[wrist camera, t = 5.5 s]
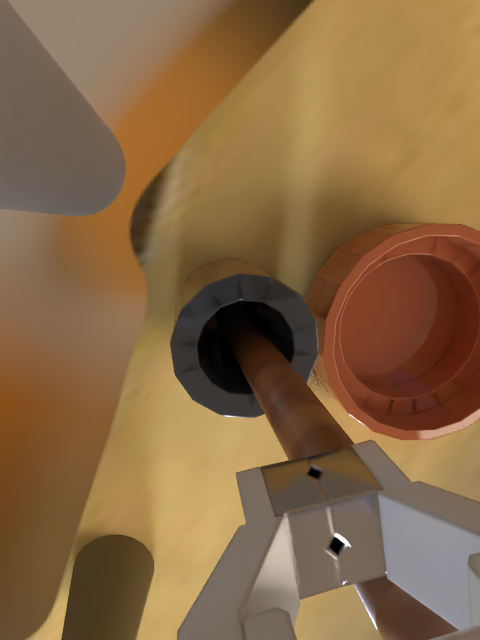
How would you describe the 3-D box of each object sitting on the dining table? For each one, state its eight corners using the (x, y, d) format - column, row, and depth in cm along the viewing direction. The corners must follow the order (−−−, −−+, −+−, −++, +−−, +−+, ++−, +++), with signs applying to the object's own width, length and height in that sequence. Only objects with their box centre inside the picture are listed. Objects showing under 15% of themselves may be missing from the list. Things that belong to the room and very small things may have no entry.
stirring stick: (209, 320, 28) (386, 698, 7) (219, 292, 27) (436, 611, 7) (236, 328, 28) (471, 698, 8) (247, 301, 28) (522, 618, 8)
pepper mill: (168, 551, 32) (158, 709, 22) (132, 612, 33) (106, 793, 23) (94, 523, 31) (46, 677, 21) (59, 587, 32) (-5, 766, 21)
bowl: (272, 376, 30) (290, 407, 25) (341, 196, 28) (377, 188, 23) (429, 424, 33) (476, 462, 28) (504, 261, 31) (571, 268, 25)
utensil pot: (164, 340, 29) (151, 396, 19) (195, 243, 28) (200, 251, 18) (255, 368, 30) (287, 434, 20) (289, 276, 29) (340, 301, 19)
